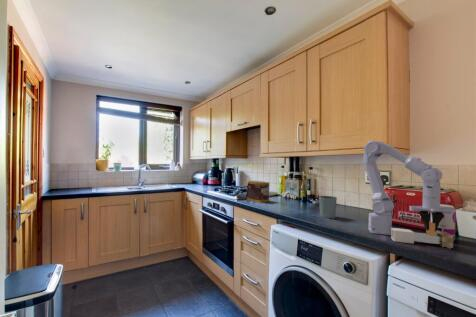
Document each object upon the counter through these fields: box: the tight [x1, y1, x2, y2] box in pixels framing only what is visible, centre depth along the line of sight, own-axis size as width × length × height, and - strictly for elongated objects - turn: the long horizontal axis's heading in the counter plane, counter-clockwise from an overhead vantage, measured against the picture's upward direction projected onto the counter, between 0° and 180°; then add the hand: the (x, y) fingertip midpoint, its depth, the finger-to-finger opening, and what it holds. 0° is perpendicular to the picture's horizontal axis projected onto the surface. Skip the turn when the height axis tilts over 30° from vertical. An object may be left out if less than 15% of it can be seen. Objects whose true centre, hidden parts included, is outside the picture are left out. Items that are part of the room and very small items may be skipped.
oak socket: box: [436, 231, 454, 249], centre depth 97 cm, size 3×6×5 cm, turn 161°
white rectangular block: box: [390, 227, 415, 245], centre depth 101 cm, size 7×5×5 cm, turn 71°
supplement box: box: [246, 180, 270, 203], centre depth 193 cm, size 10×15×16 cm
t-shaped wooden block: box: [413, 221, 442, 245], centre depth 99 cm, size 15×3×8 cm, turn 71°
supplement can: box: [430, 203, 457, 241], centre depth 105 cm, size 8×8×15 cm
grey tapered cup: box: [318, 195, 338, 219], centre depth 142 cm, size 10×10×12 cm
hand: (430, 229), depth 98 cm, fingers closed on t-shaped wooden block, 2 cm apart
